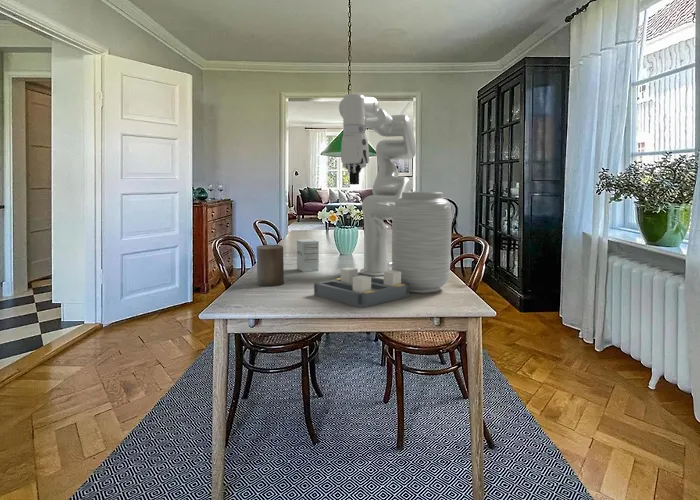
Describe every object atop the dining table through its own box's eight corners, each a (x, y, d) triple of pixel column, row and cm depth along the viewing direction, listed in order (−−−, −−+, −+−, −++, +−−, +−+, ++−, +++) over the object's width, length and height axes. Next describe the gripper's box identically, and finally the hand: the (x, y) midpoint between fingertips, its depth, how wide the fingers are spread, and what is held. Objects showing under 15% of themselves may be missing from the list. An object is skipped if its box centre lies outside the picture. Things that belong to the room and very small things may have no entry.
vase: (381, 284, 176) (383, 191, 171) (430, 281, 183) (432, 191, 179) (408, 297, 157) (410, 192, 153) (461, 292, 165) (464, 192, 160)
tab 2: (383, 292, 159) (383, 271, 158) (391, 290, 161) (391, 270, 160) (392, 294, 156) (393, 273, 155) (400, 292, 159) (401, 271, 158)
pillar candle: (289, 283, 178) (288, 242, 175) (267, 287, 170) (267, 245, 168) (272, 279, 184) (272, 240, 182) (251, 283, 177) (250, 242, 175)
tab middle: (340, 289, 163) (340, 268, 162) (349, 287, 166) (349, 267, 165) (348, 291, 160) (348, 270, 159) (357, 289, 163) (357, 268, 162)
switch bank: (314, 295, 159) (314, 282, 159) (361, 285, 174) (361, 274, 174) (361, 308, 144) (361, 294, 143) (409, 296, 159) (409, 283, 158)
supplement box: (296, 269, 206) (296, 239, 204) (313, 268, 209) (312, 238, 207) (302, 272, 199) (302, 241, 198) (319, 271, 203) (319, 240, 201)
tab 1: (352, 299, 149) (352, 277, 148) (361, 297, 152) (361, 275, 151) (361, 301, 146) (362, 279, 145) (371, 299, 149) (371, 277, 148)
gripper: (377, 130, 167) (377, 184, 170) (347, 132, 177) (347, 183, 180) (361, 129, 161) (361, 185, 164) (331, 131, 172) (332, 184, 175)
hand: (354, 184), depth 172 cm, fingers closed
